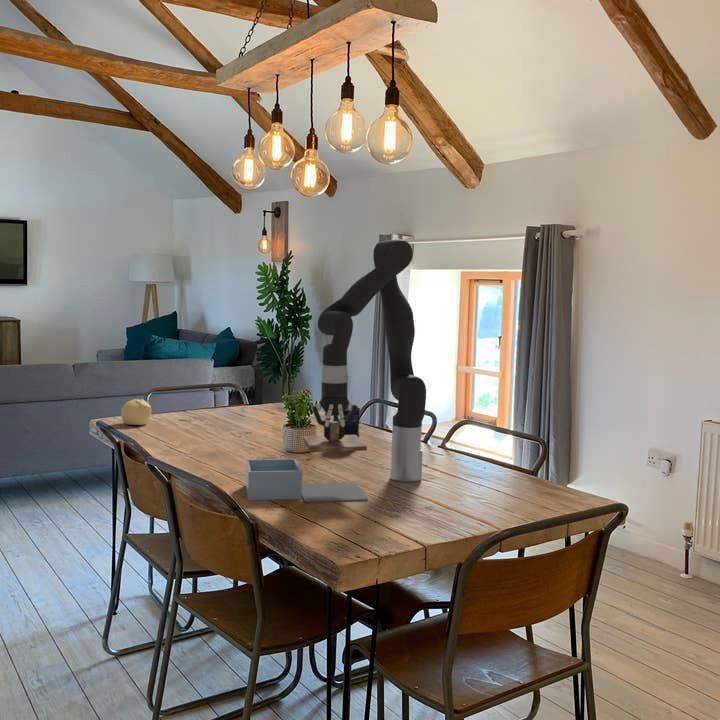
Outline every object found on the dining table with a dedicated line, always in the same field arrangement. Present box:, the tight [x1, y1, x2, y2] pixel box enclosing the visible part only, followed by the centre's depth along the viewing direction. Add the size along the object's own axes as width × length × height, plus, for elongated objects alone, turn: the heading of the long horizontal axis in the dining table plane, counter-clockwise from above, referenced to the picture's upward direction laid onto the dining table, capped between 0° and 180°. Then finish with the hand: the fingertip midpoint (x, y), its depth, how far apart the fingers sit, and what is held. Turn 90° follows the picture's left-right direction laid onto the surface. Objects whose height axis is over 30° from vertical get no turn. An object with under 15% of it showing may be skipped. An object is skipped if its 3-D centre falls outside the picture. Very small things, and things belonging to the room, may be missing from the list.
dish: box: [244, 458, 303, 501], centre depth 224 cm, size 15×15×8 cm
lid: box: [302, 421, 368, 453], centre depth 224 cm, size 16×16×7 cm
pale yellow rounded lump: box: [120, 398, 153, 426], centre depth 317 cm, size 11×12×11 cm
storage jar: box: [332, 406, 361, 439], centre depth 286 cm, size 10×10×15 cm
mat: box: [301, 481, 369, 503], centre depth 226 cm, size 18×18×1 cm
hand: (334, 438), depth 224 cm, fingers closed on lid, 3 cm apart
